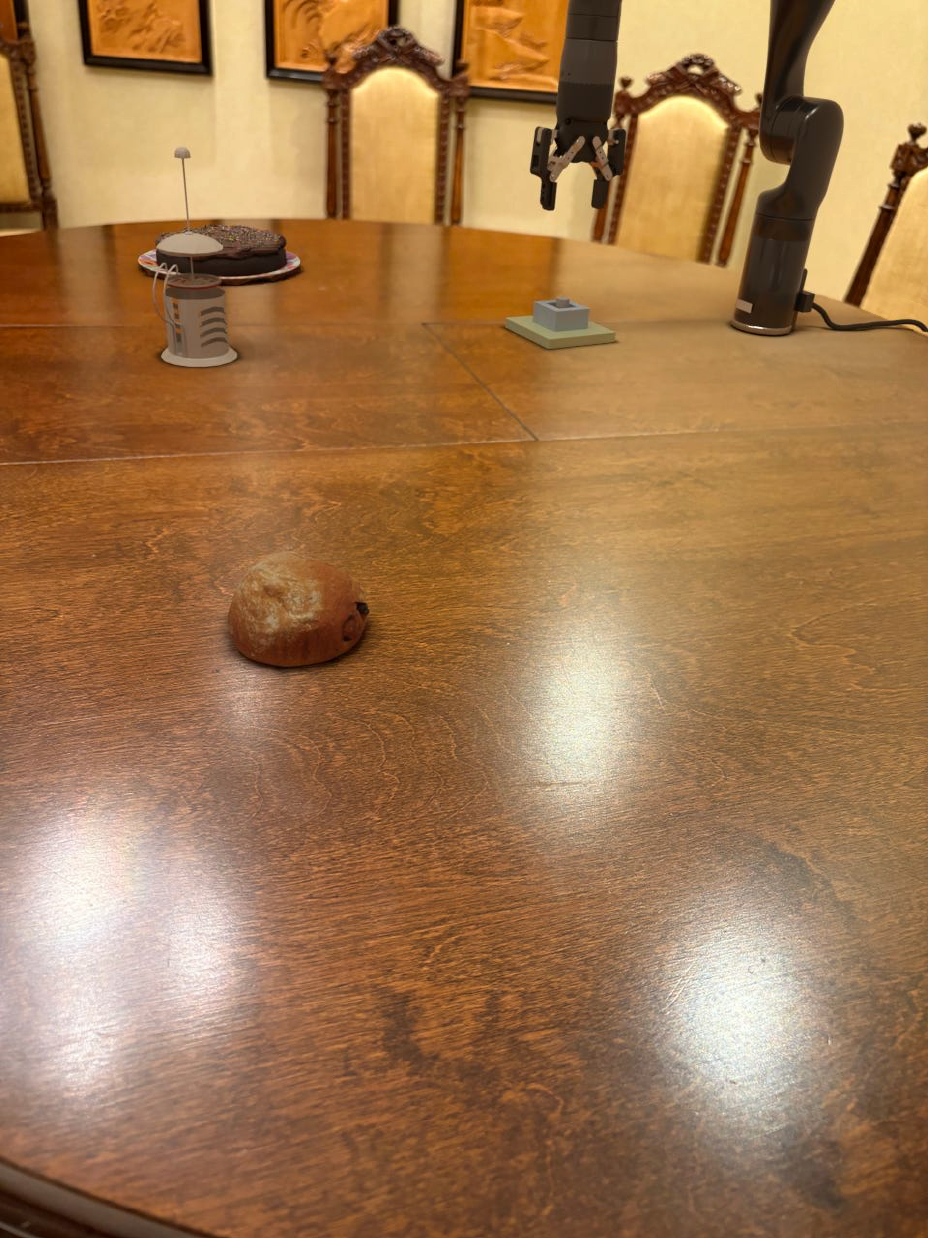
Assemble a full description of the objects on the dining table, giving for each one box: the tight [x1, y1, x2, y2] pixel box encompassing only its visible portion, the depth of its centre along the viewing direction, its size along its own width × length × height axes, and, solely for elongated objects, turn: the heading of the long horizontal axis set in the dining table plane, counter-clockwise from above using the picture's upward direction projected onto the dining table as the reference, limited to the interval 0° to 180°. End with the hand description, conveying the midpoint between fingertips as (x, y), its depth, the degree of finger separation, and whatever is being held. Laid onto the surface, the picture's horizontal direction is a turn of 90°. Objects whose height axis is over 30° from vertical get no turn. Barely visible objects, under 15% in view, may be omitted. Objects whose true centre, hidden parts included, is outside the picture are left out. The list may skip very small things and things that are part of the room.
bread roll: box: [226, 550, 370, 668], centre depth 72 cm, size 10×10×8 cm
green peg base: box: [504, 295, 617, 350], centre depth 146 cm, size 12×12×6 cm
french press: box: [152, 146, 238, 368], centre depth 121 cm, size 10×12×25 cm
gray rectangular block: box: [532, 299, 591, 332], centre depth 146 cm, size 6×6×3 cm
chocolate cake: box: [137, 223, 302, 286], centre depth 170 cm, size 28×28×7 cm
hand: (573, 208), depth 138 cm, fingers open, 8 cm apart
